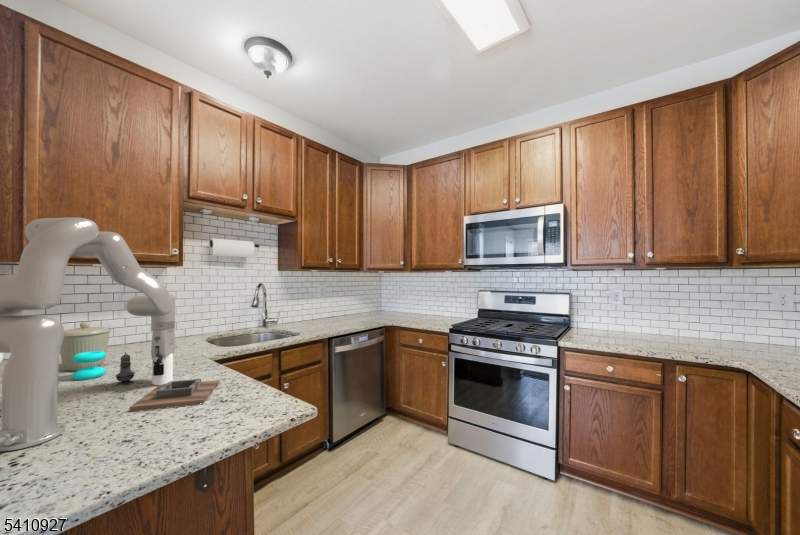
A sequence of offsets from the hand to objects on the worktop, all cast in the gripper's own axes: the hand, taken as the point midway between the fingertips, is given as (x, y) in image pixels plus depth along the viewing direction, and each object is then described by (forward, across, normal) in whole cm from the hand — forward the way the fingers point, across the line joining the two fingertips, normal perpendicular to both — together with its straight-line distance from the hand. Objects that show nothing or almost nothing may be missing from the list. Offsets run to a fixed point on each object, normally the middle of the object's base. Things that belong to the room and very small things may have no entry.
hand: (162, 372), depth 124 cm
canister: (+5, +35, +44) cm, 56 cm away
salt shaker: (+5, +4, +14) cm, 15 cm away
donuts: (+5, +18, +33) cm, 38 cm away
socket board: (+4, -18, -12) cm, 22 cm away
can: (+5, 0, 0) cm, 5 cm away
